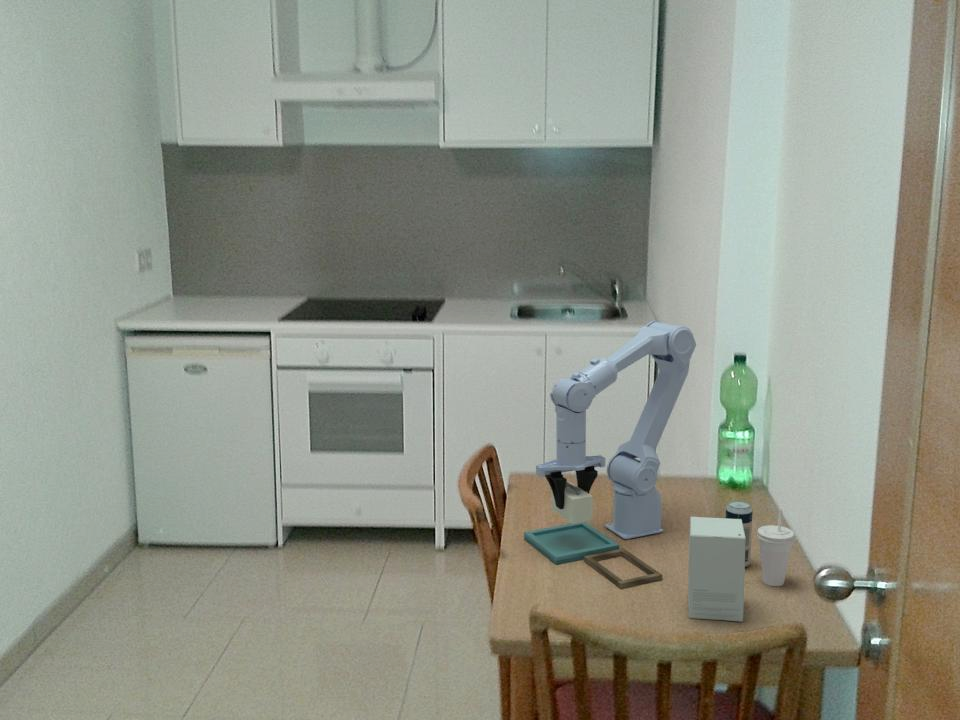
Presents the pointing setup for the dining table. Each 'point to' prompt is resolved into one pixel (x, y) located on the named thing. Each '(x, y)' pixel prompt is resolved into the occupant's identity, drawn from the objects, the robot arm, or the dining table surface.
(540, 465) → the robot arm
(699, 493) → the dining table surface
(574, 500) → the white block with handle
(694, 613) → the supplement box
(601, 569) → the brown flat rectangular frame
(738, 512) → the beer can
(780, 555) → the smoothie
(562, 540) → the tray
